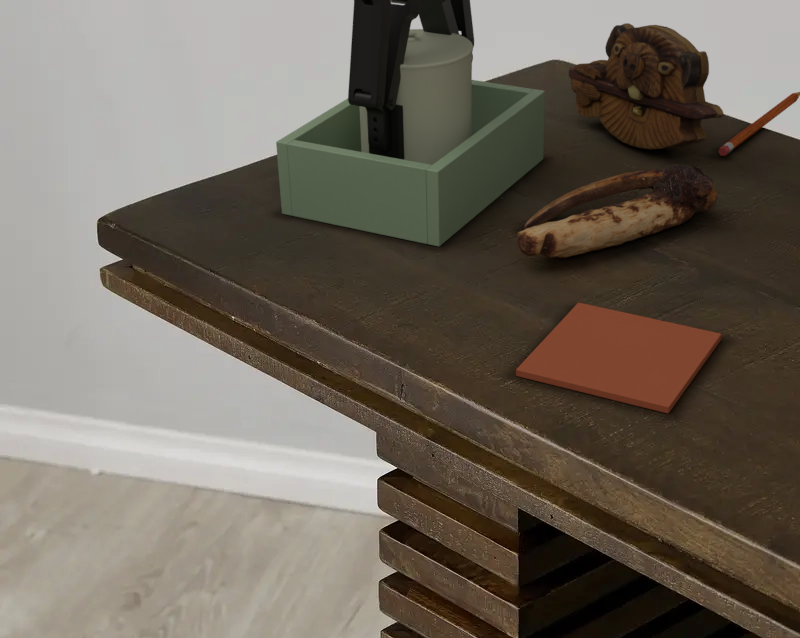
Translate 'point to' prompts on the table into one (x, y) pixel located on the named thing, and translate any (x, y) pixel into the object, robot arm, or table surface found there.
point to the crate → (411, 169)
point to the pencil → (758, 124)
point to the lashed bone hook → (618, 211)
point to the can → (432, 96)
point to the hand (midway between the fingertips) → (416, 163)
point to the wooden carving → (647, 88)
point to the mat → (620, 357)
